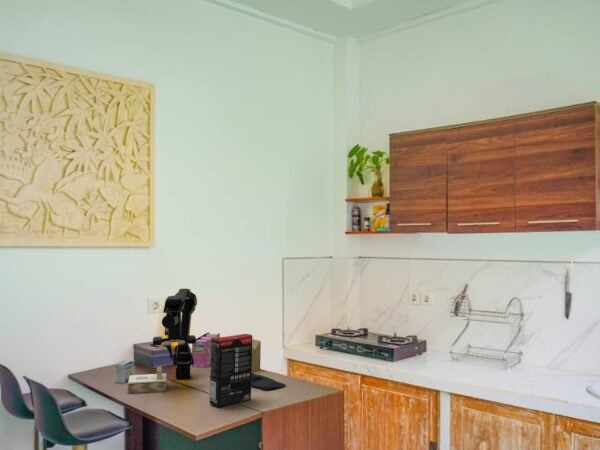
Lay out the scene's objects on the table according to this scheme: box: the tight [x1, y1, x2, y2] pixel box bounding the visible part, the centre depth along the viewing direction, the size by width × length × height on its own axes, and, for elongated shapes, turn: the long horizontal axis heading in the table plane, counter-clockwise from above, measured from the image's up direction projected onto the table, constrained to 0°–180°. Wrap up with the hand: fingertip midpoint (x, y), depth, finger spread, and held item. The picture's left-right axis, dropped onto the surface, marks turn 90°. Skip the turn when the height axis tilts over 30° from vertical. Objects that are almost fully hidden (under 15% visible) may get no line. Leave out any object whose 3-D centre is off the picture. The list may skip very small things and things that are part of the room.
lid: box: [127, 366, 167, 385], centre depth 259 cm, size 16×12×4 cm
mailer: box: [127, 381, 167, 395], centre depth 259 cm, size 16×12×4 cm
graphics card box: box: [209, 333, 253, 408], centre depth 240 cm, size 17×7×27 cm, turn 133°
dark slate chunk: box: [251, 372, 287, 390], centre depth 268 cm, size 15×22×5 cm
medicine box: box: [115, 359, 134, 384], centre depth 272 cm, size 8×4×9 cm, turn 168°
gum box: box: [191, 332, 221, 369], centre depth 309 cm, size 24×8×14 cm, turn 169°
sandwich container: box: [251, 338, 262, 373], centre depth 290 cm, size 9×15×15 cm, turn 139°
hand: (174, 359), depth 262 cm, fingers closed
